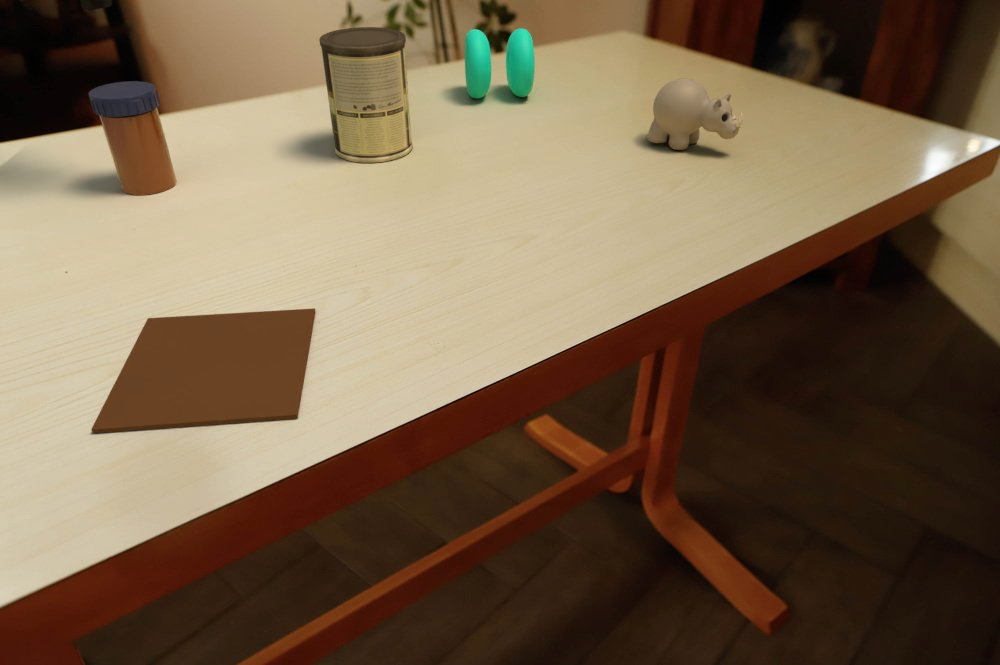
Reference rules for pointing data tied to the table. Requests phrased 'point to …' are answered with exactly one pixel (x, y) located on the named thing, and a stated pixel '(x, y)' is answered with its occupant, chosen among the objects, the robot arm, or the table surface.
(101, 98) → the jar lid
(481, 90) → the donuts
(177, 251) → the table surface
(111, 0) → the robot arm
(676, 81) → the toy rhinoceros
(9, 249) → the table surface
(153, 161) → the jam jar
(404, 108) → the coffee can
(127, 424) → the cork mat
